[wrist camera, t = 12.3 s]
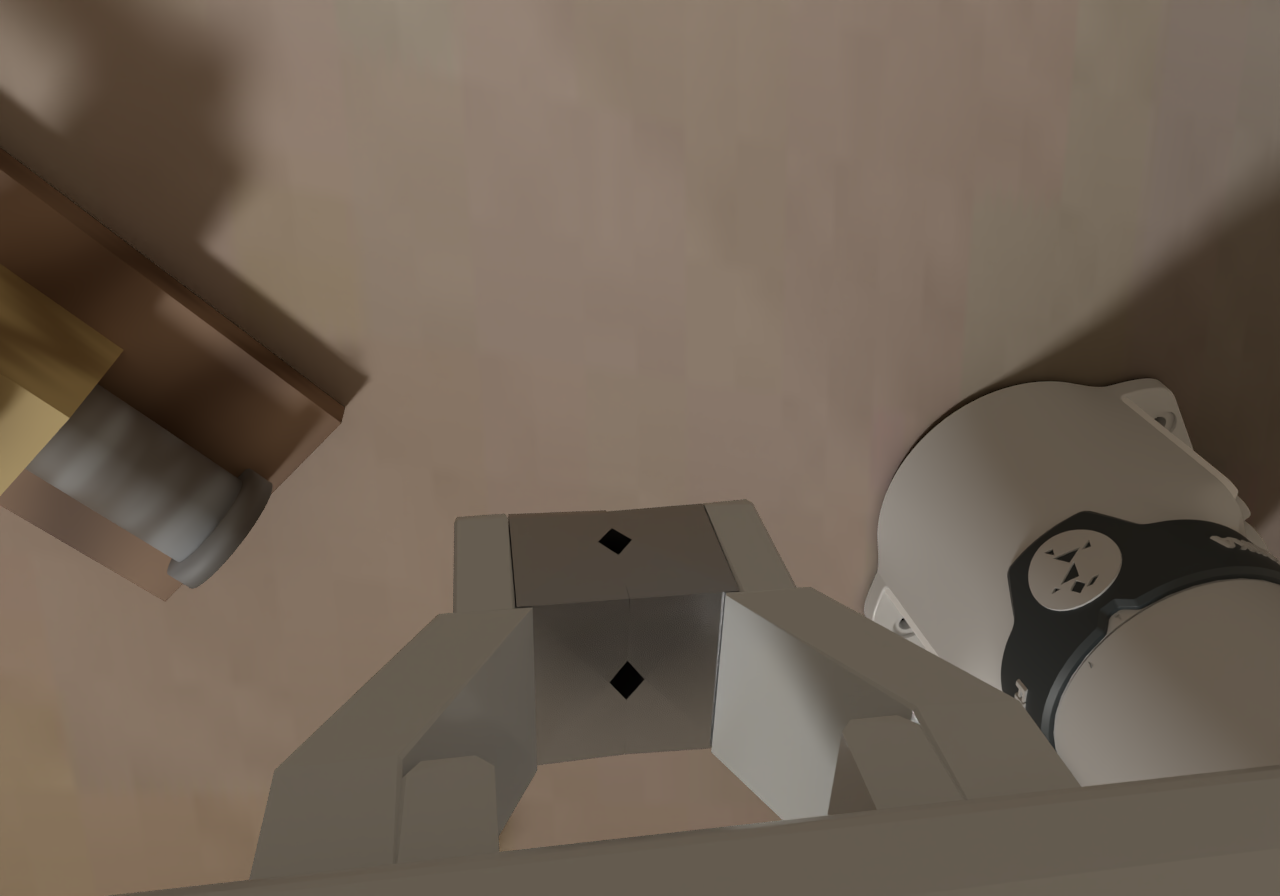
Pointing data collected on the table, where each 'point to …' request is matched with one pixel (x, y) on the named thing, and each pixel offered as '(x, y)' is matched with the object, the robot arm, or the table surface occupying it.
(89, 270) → the valve mount
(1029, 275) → the table surface
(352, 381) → the table surface
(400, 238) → the table surface
